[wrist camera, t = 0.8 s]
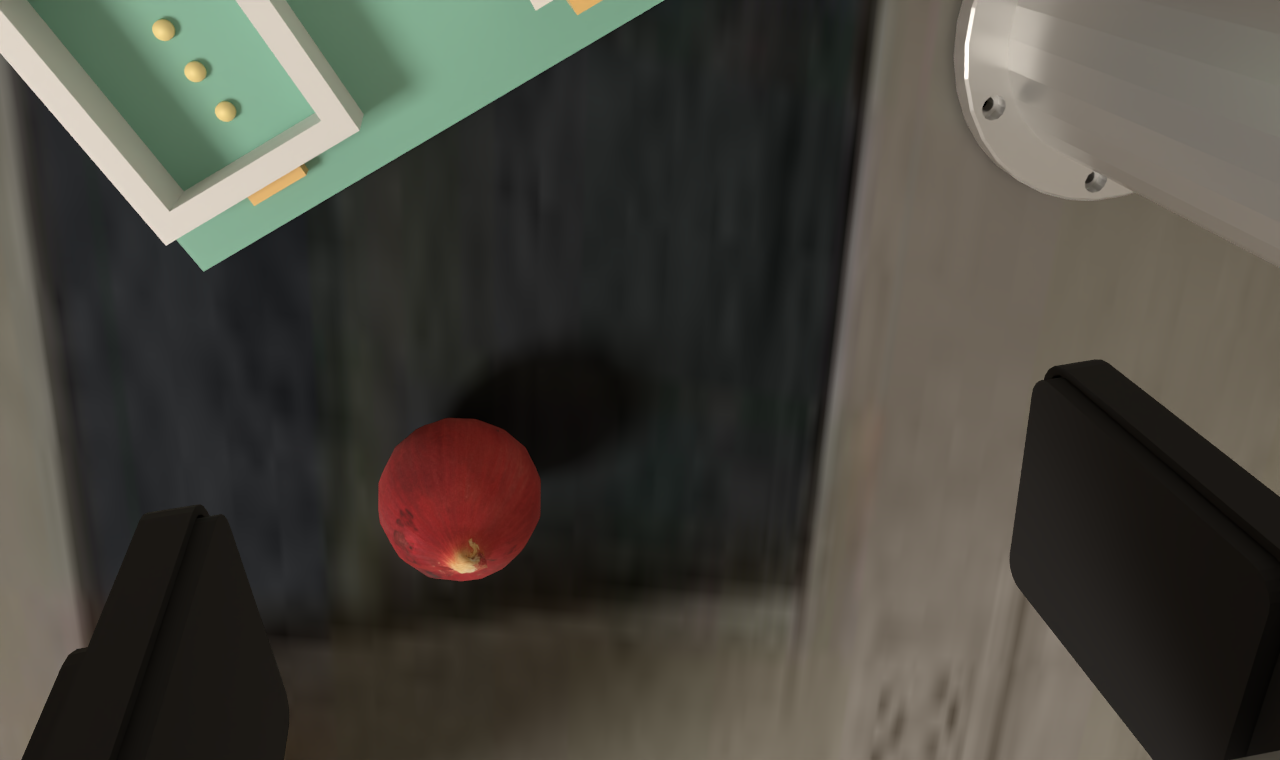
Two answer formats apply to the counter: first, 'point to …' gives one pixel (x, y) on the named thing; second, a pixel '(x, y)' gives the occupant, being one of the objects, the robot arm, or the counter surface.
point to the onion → (459, 499)
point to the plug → (579, 3)
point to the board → (273, 92)
